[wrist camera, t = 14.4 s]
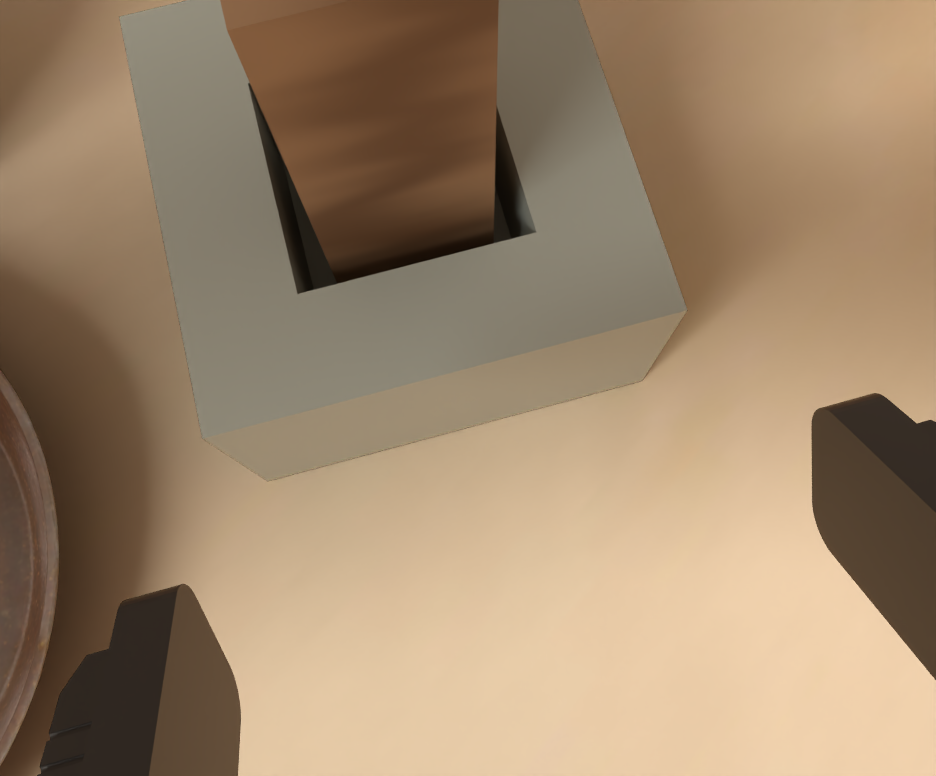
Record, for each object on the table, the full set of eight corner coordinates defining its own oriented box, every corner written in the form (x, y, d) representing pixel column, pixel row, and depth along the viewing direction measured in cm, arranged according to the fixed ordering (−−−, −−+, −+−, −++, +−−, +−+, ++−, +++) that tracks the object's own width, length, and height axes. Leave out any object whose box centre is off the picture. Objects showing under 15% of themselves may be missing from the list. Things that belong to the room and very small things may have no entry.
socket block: (267, 481, 25) (202, 438, 19) (195, 142, 28) (119, 16, 22) (642, 380, 26) (687, 310, 20) (534, 58, 28) (547, -87, 23)
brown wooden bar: (350, 313, 24) (227, 30, 13) (317, 184, 25) (176, -189, 14) (492, 276, 25) (499, -36, 13) (454, 149, 26) (429, -247, 14)
